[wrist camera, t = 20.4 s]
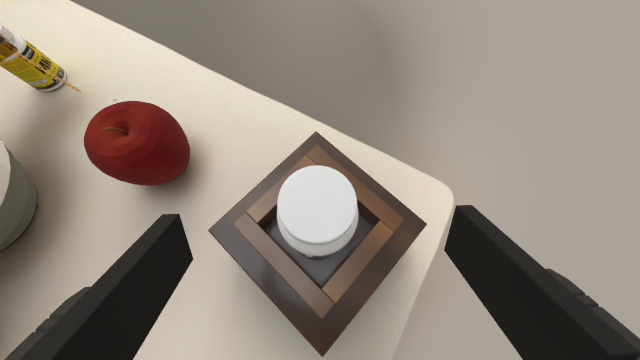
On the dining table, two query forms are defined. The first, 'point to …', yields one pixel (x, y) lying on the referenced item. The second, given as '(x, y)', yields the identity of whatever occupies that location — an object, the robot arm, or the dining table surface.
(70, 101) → the dining table surface
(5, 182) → the bowl
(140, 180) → the apple
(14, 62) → the supplement bottle
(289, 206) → the pill bottle
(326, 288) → the socket stand
